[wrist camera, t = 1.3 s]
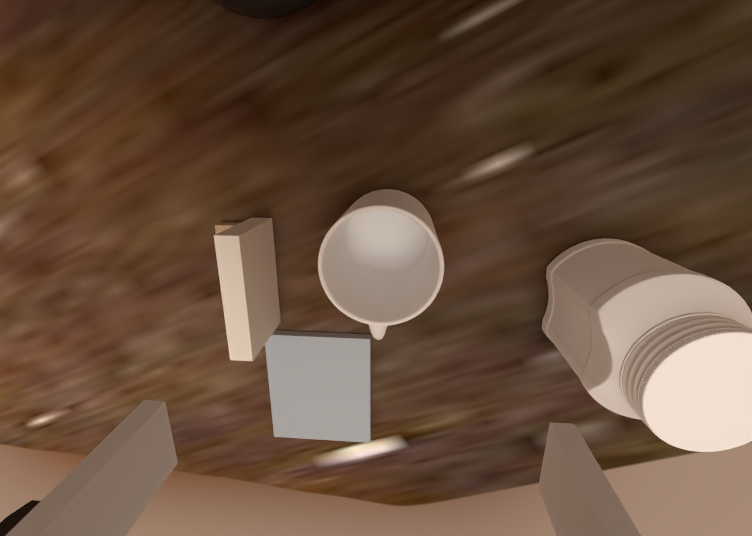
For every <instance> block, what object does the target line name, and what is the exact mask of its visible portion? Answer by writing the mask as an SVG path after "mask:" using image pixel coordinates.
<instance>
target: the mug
mask: <svg viewBox="0 0 752 536" xmlns="http://www.w3.org/2000/svg"><path fill="white" fill-rule="evenodd" d="M318 272H319V278H320V281H321V284H322V287H323V289H324V291H325V293H326V295H327V296H328V298H329V299H330V300H331V302H332V303H333V304H334V305H335V306H336V307H337V308H338V309H339V310H340V311H341V312H343V313H344V314H345V315H347V316H349V317H350V318H352V319H354V320H357V321H359V322H362V323H366V324H369V328H370V331H371V333H372V335H373V337H374V338H375V339H377V340H380V339H382V338H383V337H384V335H385V332H386V329H387V325H395V324H399V323H402V322H405V321H408V320H410V319H412V318H414V317H416V316H417V315H419V314H420V313H421V312H423V311H424V310H425V309H426V308H427V307H428V306H429V305H430V304H431V303H432V301H433V300H434V298H435V297H436V295H437V293H438V291H439V289H440V287H441V284H442V281H443V275H444V258H443V253H442V249H441V246H440V243H439V240H438V237H437V234H436V231H435V228H434V225H433V222H432V219H431V217H430V215H429V213H428V211H427V210H426V209H425V207H424V206H423V205H422V204H421V203H420V202H419V201H418V200H417V199H416V198H414V197H413V196H411V195H409V194H407V193H405V192H402V191H399V190H393V189H381V190H376V191H372V192H370V193H368V194H365V195H364V196H362V197H360V198H359V199H358V200H357V201H355V202H354V203H353V204H352V205H351V206H350V207H349V209H348V210H347V211H346V212H345V213H344V214H343V215H342V216H341V217H340V218H339V219H338V220H337V222H336V223H335V224H334V225H333V226H332V227H331V228H330V230H329V231H328V232H327V234H326V236H325V238H324V239H323V242H322V244H321V247H320V251H319V255H318Z"/></svg>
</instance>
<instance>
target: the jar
mask: <svg viewBox="0 0 752 536" xmlns="http://www.w3.org/2000/svg"><path fill="white" fill-rule="evenodd" d="M546 279H547V283H548V304H547V308H546V312H545V315H544V317H543V319H542V330H543V331H544V333H545V334H546V335H547V337H548V338H549V339H550V340H551V341H552V342H553V343H554V345H555V346H556V347H557V349H558V350H559V351H560V353H561V354H562V355H563V357H564V358H565V359H566V361H567V362H568V363H569V365H570V366H571V367H572V369H573V370H574V372H575V373H576V374H577V376H578V377H579V378H580V380H581V383H582V385H583V386H584V387H585V389H586V390H587V391H588V393H589V394H590V395H591V396H592V397H593V398H594V399H595V400H596V401H597V402H598V403H600V404H601V405H602V406H604V407H605V408H607V409H609V410H611V411H613V412H615V413H617V414H620V415H623V416H626V417H630V418H635V419H640V420H642V421H643V422H644V423H645V424H646V425H647V426H648V427H649V428H650V430H651V431H652V432H653V433H654V434H655V435H656V436H658V437H659V438H660V439H661V440H663V441H665V442H666V443H668V444H670V445H672V446H675V447H677V448H681V449H684V450H690V451H698V452H713V451H721V450H726V449H731V448H734V447H738V446H741V445H744V444H746V443H748V442H751V441H752V313H751V311H750V309H749V307H748V305H747V304H746V303H745V301H744V300H743V299H742V298H741V296H740V295H739V294H738V293H736V292H735V291H734V290H733V289H731V288H730V287H729V286H727V285H725V284H724V283H722V282H720V281H717V280H715V279H713V278H711V277H708V276H706V275H703V274H700V273H697V272H693V271H691V270H688V269H686V268H684V267H682V266H679V265H677V264H675V263H673V262H670V261H668V260H666V259H664V258H661V257H659V256H657V255H655V254H652V253H650V252H649V251H647V250H645V249H644V248H642V247H639V246H637V245H635V244H633V243H630V242H627V241H624V240H619V239H611V238H603V239H594V240H589V241H585V242H582V243H579V244H577V245H575V246H572V247H570V248H569V249H567V250H565V251H564V252H562V253H561V254H560V255H558V256H557V257H556V258H555V259H554V260H553V261H552V262H551V263H550V264H549V265H548V266H547V269H546Z"/></svg>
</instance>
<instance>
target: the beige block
mask: <svg viewBox="0 0 752 536" xmlns="http://www.w3.org/2000/svg"><path fill="white" fill-rule="evenodd" d="M215 231H216V234H215V235H214V241H215V249H216V256H217V264H218V271H219V279H220V286H221V294H222V301H223V309H224V317H225V324H226V332H227V339H228V347H229V354H230V360H240V361H253V360H254V359H255V357H256V356H257V355H258V353H259V352H260V350H261V349H262V348H263V346H264V345H265V343H266V342H267V341H268V339H269V338H270V336H271V335H272V334H273V332H274V331H275V329H276V328H277V327H278V325H279V324H280V322H281V320H280V308H279V295H278V283H277V271H276V259H275V247H274V235H273V223H272V218H250V219H248V220H245V221H243V222H221V223H219V224H216V225H215Z"/></svg>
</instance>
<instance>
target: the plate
mask: <svg viewBox="0 0 752 536" xmlns="http://www.w3.org/2000/svg"><path fill="white" fill-rule="evenodd" d="M265 348H266V358H267V369H268V379H269V389H270V399H271V409H272V419H273V429H274V437H288V438H304V439H320V440H336V441H352V442H368V443H370V440H371V334H349V333H325V332H301V331H277V330H275V331H274V332H273V334H272V335H271V336H270V338H269V339H268V341H267V342H266V343H265Z"/></svg>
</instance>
